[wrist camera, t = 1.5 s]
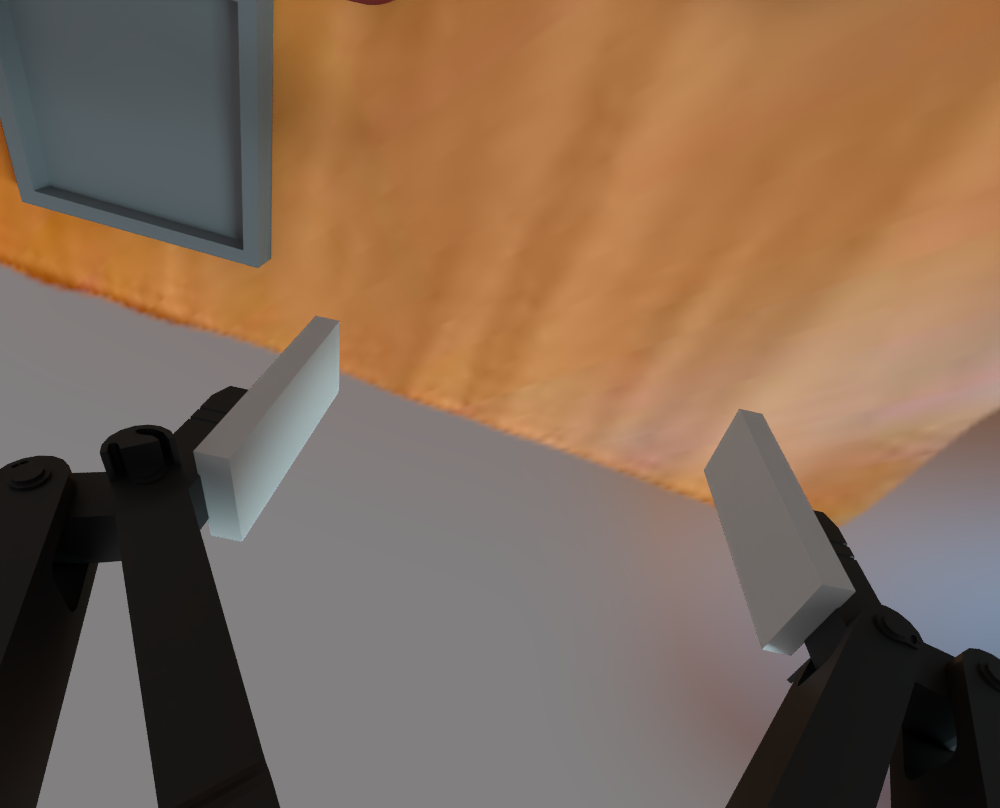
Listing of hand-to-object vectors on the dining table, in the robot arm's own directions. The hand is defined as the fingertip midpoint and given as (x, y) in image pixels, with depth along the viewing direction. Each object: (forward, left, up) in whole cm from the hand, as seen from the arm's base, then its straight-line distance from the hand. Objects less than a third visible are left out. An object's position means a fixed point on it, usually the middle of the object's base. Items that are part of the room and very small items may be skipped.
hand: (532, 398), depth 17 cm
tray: (0, -26, -22) cm, 34 cm away
